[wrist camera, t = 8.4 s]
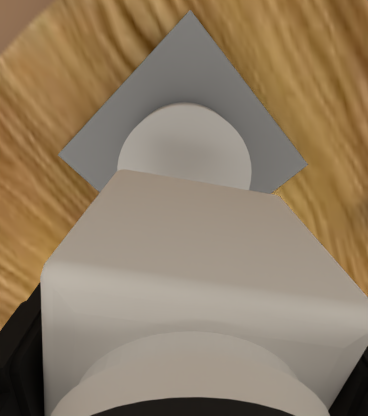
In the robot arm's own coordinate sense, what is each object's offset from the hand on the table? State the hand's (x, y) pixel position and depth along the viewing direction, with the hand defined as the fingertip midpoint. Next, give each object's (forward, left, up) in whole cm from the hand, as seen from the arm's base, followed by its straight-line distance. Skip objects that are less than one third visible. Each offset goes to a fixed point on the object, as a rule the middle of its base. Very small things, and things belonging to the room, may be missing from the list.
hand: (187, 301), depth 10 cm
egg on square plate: (0, 0, -22) cm, 22 cm away
